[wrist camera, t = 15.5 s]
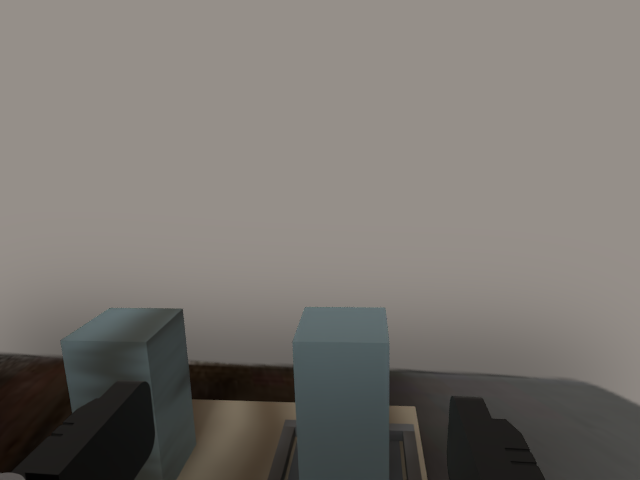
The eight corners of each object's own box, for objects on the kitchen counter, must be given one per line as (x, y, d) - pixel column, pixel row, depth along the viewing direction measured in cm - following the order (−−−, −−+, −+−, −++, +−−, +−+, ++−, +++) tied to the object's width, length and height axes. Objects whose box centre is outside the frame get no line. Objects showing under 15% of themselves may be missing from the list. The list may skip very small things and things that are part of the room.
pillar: (300, 504, 26) (292, 341, 24) (310, 447, 31) (304, 307, 29) (389, 509, 26) (389, 343, 23) (385, 449, 30) (385, 307, 28)
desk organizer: (-24, 601, 23) (-73, 392, 20) (135, 413, 38) (118, 282, 36) (449, 642, 20) (458, 410, 18) (414, 423, 36) (417, 283, 33)
